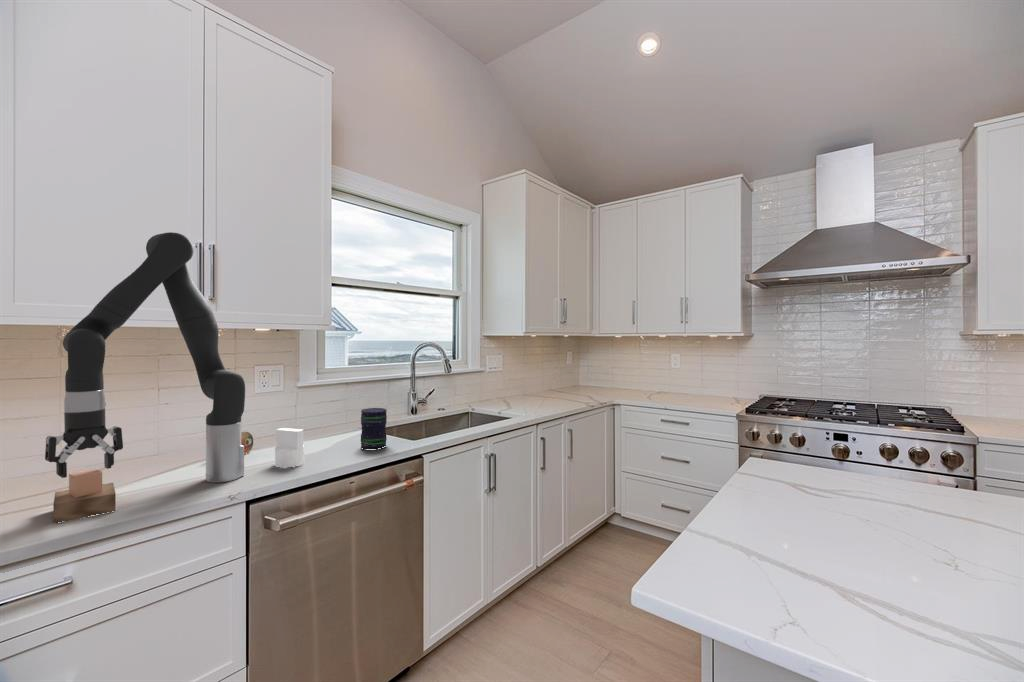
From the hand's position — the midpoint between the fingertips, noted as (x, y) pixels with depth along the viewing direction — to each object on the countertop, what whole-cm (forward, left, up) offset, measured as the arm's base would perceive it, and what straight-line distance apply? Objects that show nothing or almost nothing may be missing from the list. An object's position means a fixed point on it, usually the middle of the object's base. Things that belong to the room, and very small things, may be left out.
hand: (86, 472), depth 115 cm
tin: (-47, -20, -10) cm, 52 cm away
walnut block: (0, 0, -10) cm, 10 cm away
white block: (-52, +5, -10) cm, 53 cm away
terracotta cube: (0, 0, -5) cm, 5 cm away
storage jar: (-84, +11, -10) cm, 85 cm away
